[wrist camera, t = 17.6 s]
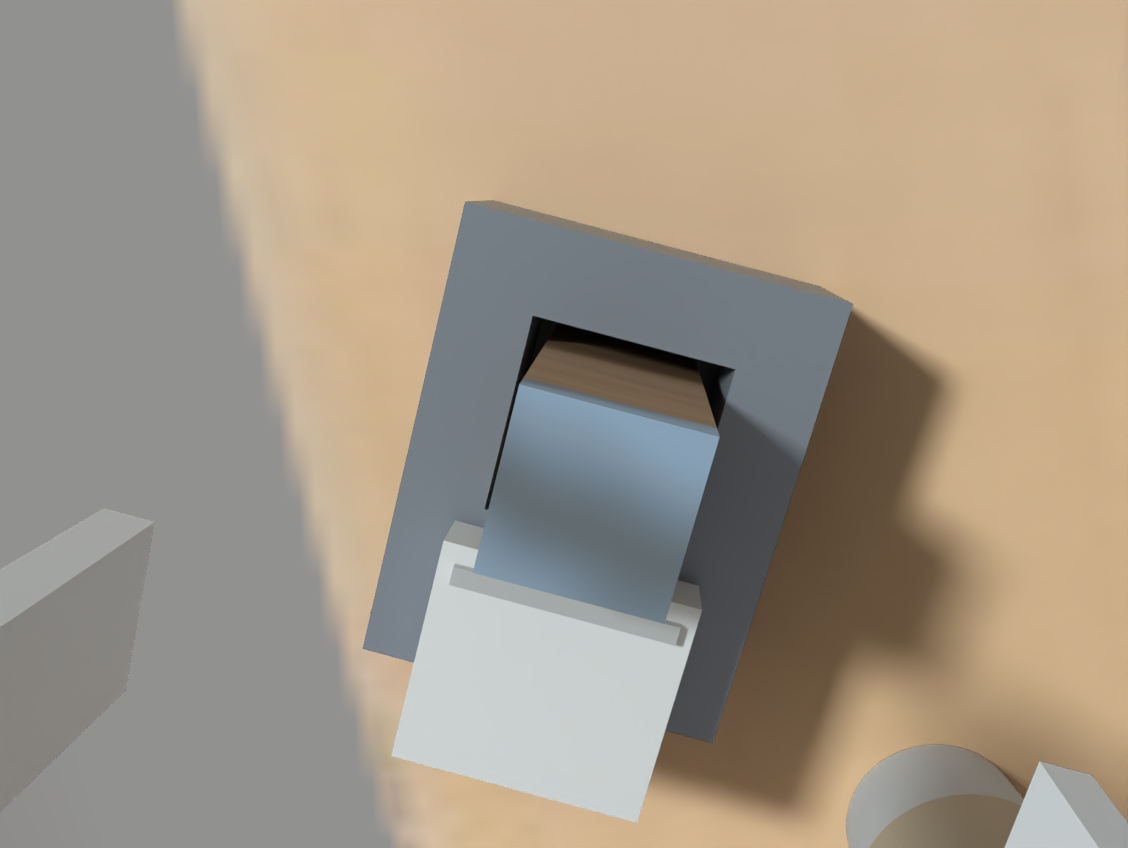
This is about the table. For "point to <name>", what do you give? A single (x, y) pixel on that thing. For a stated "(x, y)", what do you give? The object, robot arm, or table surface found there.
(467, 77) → the table surface
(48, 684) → the robot arm
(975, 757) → the coffee cup
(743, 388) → the socket block
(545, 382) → the plug
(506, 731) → the lid
